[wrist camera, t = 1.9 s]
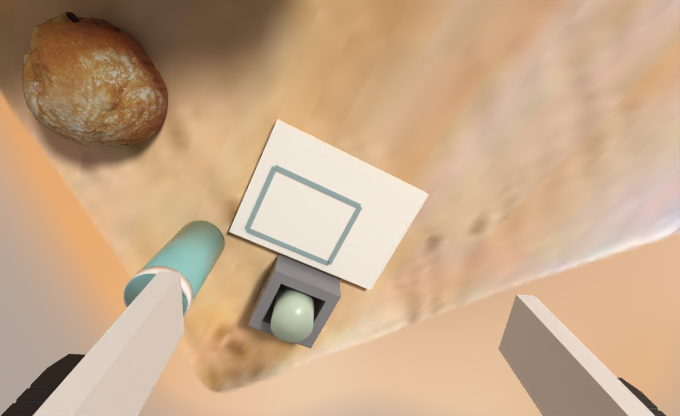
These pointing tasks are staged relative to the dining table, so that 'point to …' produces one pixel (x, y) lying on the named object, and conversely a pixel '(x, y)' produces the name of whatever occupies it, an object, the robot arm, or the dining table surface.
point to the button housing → (301, 280)
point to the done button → (292, 315)
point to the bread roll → (92, 83)
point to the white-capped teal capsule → (182, 261)
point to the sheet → (325, 207)
